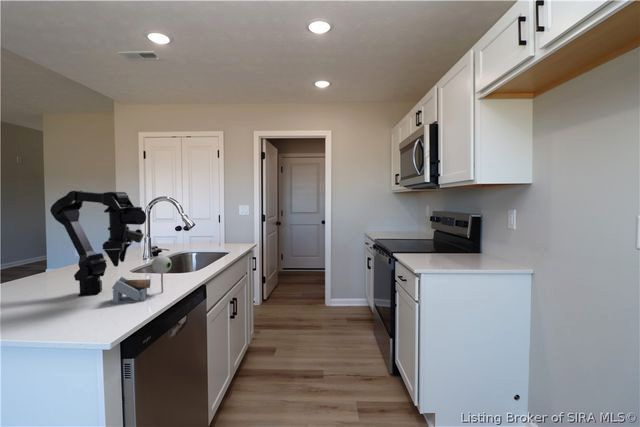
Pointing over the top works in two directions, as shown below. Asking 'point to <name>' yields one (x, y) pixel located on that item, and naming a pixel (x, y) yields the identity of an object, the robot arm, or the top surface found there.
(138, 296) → the cradle
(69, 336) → the top surface
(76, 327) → the top surface
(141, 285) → the peg
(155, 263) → the lollipop
